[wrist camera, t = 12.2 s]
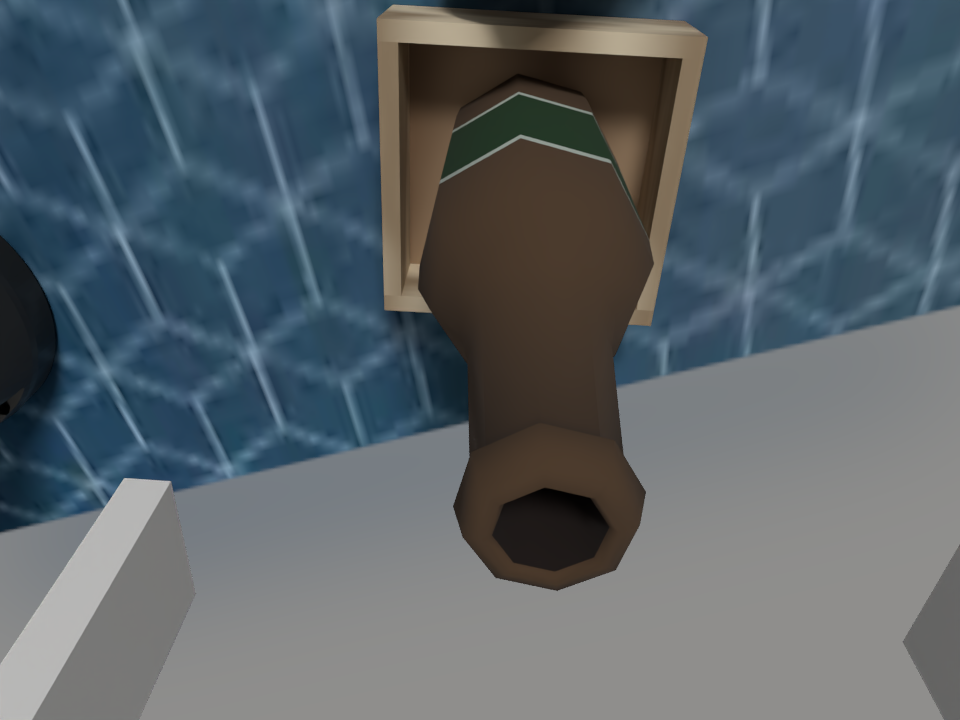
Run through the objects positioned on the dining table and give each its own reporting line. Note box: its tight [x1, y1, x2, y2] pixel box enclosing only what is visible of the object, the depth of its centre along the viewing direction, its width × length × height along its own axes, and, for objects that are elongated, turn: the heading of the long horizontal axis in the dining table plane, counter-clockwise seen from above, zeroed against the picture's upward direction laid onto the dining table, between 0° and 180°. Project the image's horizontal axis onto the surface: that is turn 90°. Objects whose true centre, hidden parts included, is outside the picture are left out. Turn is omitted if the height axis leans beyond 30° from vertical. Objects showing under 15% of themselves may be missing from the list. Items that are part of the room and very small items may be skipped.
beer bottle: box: [418, 74, 654, 591], centre depth 24 cm, size 8×8×24 cm
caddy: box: [377, 5, 708, 326], centre depth 33 cm, size 13×13×4 cm
